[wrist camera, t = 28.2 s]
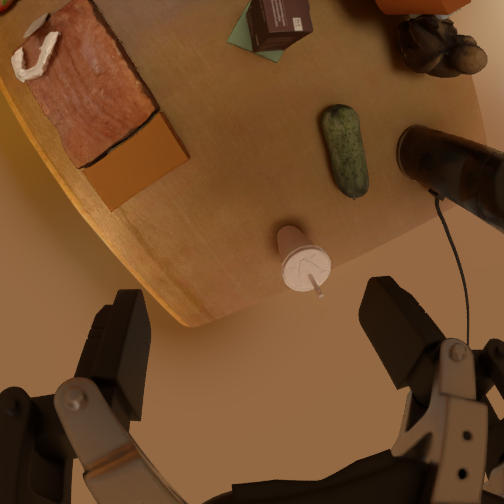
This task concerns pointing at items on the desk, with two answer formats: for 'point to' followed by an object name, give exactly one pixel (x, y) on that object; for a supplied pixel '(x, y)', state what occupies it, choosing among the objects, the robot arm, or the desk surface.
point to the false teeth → (42, 61)
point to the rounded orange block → (421, 7)
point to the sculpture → (438, 48)
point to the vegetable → (346, 150)
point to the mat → (249, 39)
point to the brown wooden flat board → (101, 105)
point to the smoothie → (302, 261)
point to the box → (277, 23)
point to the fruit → (5, 4)
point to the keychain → (35, 25)
